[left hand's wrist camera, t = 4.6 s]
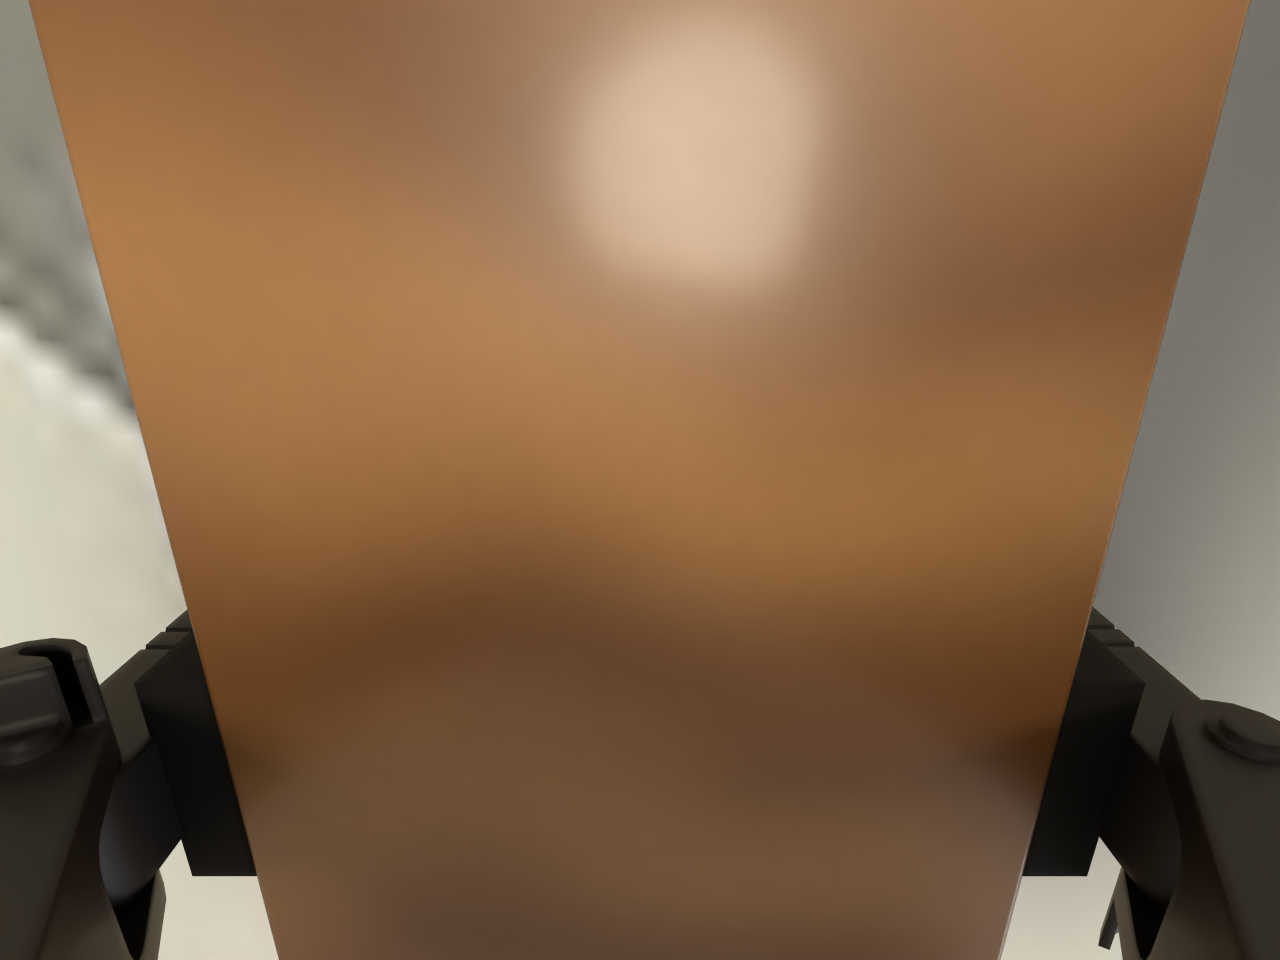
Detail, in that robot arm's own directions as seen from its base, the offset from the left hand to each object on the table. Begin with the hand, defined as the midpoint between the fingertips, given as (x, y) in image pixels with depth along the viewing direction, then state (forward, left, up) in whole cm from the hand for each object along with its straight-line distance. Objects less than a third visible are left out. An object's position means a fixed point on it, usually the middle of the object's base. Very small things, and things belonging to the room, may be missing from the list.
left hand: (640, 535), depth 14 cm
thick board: (+23, -25, 0) cm, 34 cm away
